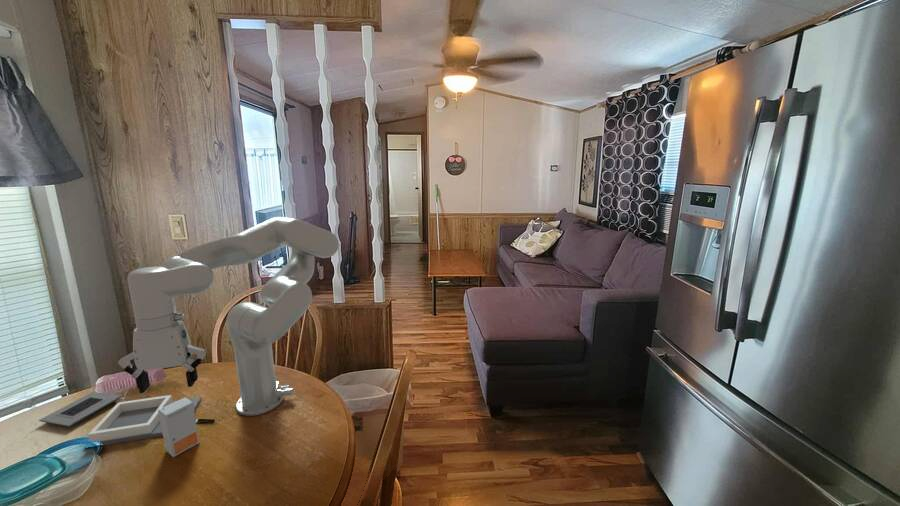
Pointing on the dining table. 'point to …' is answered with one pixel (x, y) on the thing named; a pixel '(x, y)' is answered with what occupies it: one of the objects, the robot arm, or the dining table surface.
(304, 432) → the dining table surface
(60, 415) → the grey slotted tray
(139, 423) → the holder board
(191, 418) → the skincare box
